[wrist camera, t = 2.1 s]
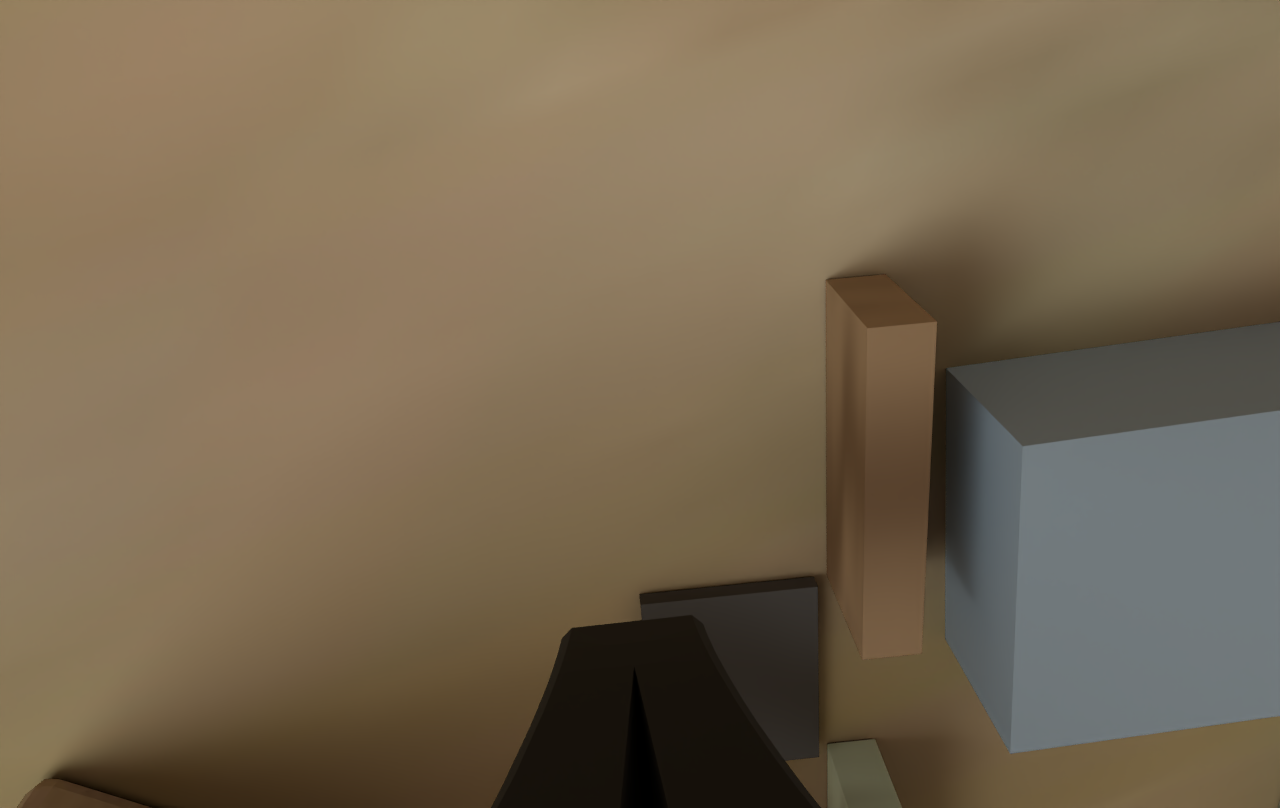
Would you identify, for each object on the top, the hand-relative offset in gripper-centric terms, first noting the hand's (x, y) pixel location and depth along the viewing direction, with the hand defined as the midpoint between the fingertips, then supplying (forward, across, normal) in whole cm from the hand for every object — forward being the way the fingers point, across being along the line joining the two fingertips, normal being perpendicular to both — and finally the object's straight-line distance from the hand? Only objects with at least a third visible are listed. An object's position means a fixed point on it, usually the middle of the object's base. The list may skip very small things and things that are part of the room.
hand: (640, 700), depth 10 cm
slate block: (+11, -11, +4) cm, 16 cm away
